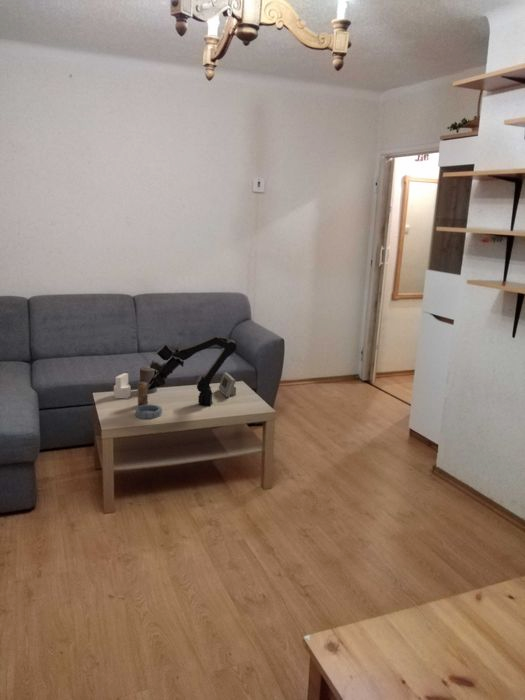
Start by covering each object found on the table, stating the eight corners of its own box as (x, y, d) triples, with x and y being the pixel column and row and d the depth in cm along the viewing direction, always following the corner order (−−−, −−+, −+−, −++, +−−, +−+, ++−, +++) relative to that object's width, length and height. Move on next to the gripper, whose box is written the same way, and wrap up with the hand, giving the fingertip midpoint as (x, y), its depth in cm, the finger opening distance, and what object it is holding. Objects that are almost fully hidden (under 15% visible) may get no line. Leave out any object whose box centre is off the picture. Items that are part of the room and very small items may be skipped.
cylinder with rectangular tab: (119, 392, 312) (118, 372, 309) (133, 394, 310) (133, 374, 307) (111, 397, 304) (110, 376, 301) (125, 399, 301) (125, 378, 299)
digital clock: (218, 389, 324) (218, 372, 322) (233, 389, 326) (233, 371, 323) (220, 398, 309) (221, 380, 306) (236, 397, 310) (237, 379, 308)
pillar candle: (136, 391, 315) (136, 366, 312) (147, 387, 324) (147, 362, 320) (150, 394, 311) (149, 369, 307) (160, 390, 319) (160, 365, 316)
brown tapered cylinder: (149, 404, 295) (148, 382, 292) (145, 407, 290) (144, 384, 287) (140, 403, 296) (139, 381, 293) (136, 406, 291) (135, 384, 288)
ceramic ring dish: (165, 411, 286) (165, 406, 285) (155, 419, 273) (155, 414, 273) (141, 408, 288) (141, 403, 288) (131, 417, 276) (130, 411, 275)
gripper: (159, 351, 297) (138, 371, 298) (158, 360, 279) (136, 381, 280) (174, 365, 300) (153, 385, 301) (174, 375, 282) (152, 396, 283)
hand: (148, 386), depth 291 cm, fingers open, 9 cm apart
